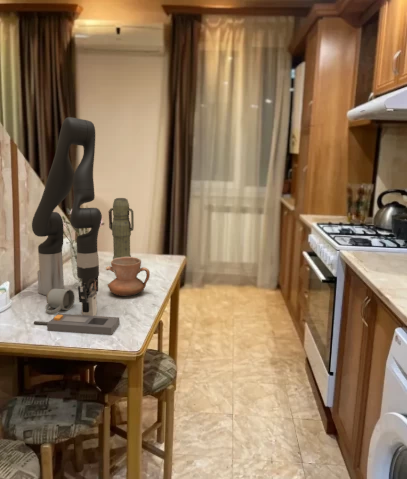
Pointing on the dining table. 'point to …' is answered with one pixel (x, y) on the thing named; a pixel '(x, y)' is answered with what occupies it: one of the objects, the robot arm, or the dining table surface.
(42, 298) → the dining table surface
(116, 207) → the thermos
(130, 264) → the ceramic jug
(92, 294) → the block
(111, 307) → the dining table surface
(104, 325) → the power strip
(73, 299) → the ceramic mug
